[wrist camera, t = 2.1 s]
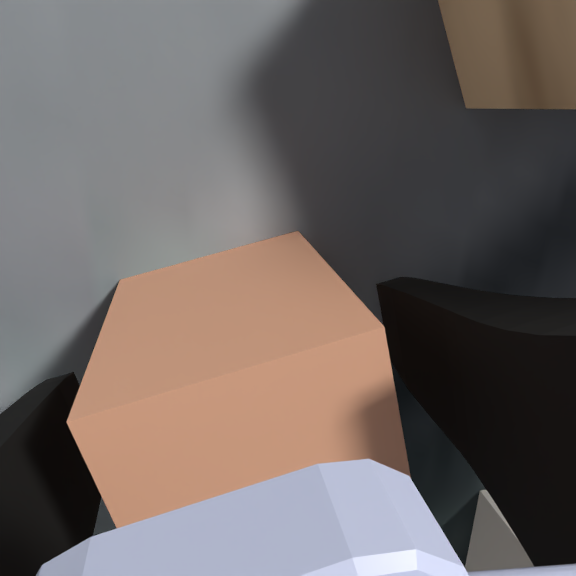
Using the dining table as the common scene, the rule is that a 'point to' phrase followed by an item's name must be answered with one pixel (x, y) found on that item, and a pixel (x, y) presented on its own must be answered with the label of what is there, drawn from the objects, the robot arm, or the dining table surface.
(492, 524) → the off-white cube
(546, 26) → the oak cube
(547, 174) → the dining table surface
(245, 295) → the terracotta block
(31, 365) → the dining table surface
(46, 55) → the dining table surface
